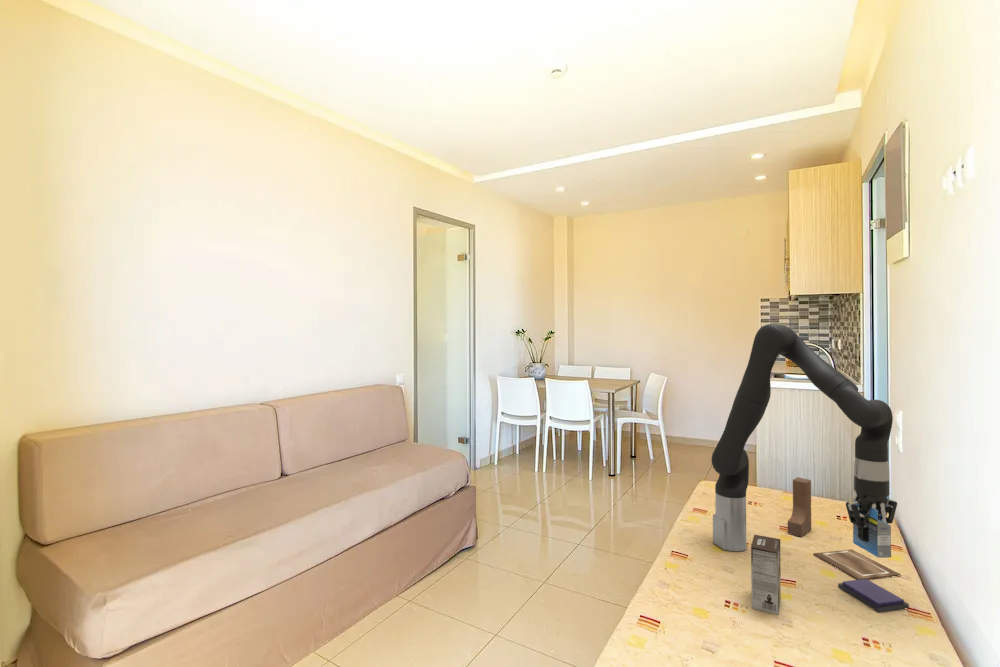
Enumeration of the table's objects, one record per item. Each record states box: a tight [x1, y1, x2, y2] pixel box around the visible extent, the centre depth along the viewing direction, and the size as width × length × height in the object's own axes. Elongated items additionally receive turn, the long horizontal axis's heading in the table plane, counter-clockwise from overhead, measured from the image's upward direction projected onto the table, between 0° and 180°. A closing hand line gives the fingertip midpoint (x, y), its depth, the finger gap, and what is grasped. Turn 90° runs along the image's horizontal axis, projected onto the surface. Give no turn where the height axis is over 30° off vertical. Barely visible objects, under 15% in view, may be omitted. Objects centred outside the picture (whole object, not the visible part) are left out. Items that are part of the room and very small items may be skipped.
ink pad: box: [837, 579, 910, 614], centre depth 130 cm, size 9×12×2 cm
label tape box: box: [852, 498, 892, 559], centre depth 130 cm, size 9×4×12 cm, turn 1°
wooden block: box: [787, 476, 812, 538], centre depth 171 cm, size 9×4×18 cm, turn 128°
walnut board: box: [813, 549, 901, 581], centre depth 147 cm, size 14×16×1 cm
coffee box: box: [750, 534, 782, 616], centre depth 128 cm, size 9×6×16 cm
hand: (871, 539), depth 130 cm, fingers closed on label tape box, 4 cm apart
